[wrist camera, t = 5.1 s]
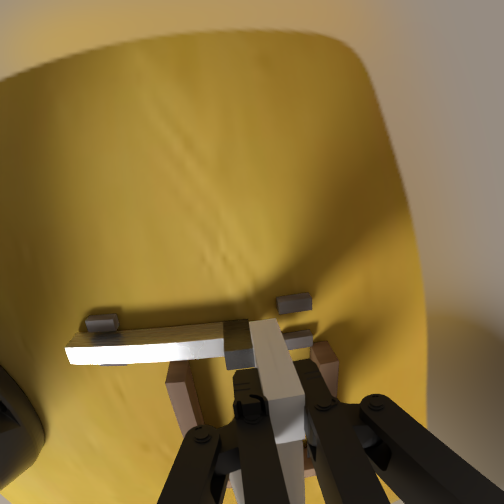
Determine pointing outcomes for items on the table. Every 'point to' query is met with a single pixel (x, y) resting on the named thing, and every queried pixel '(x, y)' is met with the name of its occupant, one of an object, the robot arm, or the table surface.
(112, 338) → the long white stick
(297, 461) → the salt shaker
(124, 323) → the table surface
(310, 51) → the table surface
